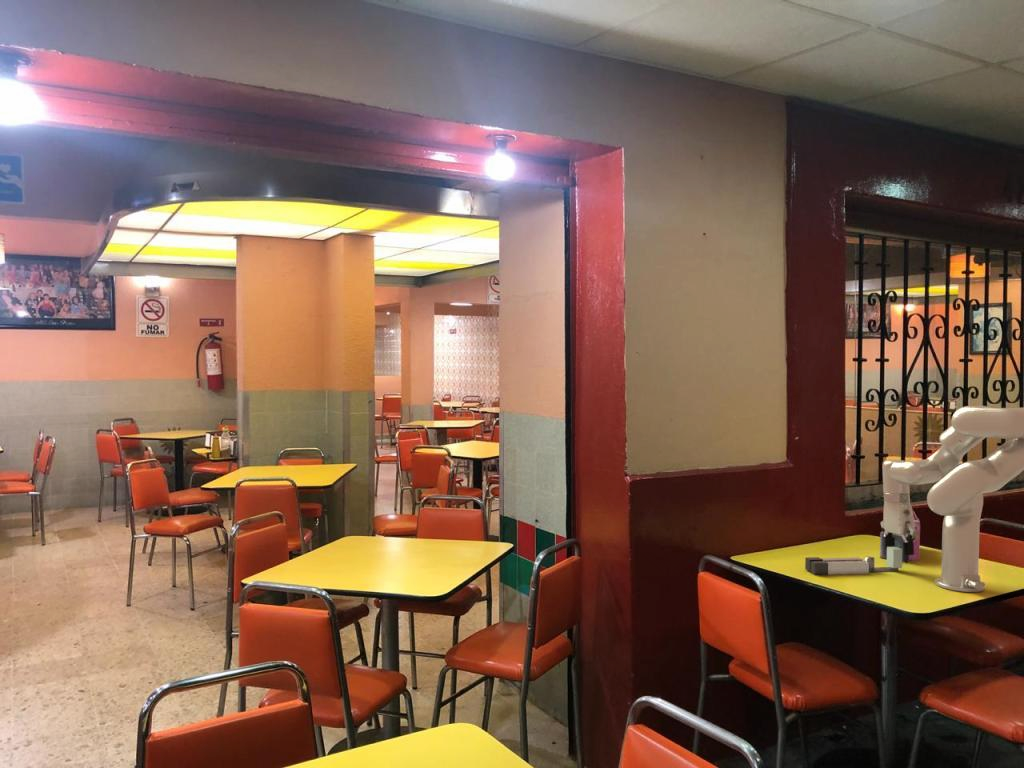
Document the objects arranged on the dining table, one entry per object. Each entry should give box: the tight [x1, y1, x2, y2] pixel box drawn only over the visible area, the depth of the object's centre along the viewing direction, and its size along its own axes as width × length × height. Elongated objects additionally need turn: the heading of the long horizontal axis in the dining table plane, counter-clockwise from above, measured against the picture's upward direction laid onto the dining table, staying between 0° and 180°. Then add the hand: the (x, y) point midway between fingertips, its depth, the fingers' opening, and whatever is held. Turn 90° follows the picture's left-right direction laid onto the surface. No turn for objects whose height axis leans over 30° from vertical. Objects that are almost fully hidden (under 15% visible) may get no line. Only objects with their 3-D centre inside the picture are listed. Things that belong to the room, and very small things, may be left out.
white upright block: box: [886, 547, 903, 569], centre depth 247 cm, size 4×3×6 cm
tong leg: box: [804, 556, 864, 572], centre depth 246 cm, size 3×18×4 cm, turn 97°
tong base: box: [809, 556, 899, 576], centre depth 244 cm, size 4×30×4 cm, turn 97°
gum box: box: [908, 509, 921, 562], centre depth 271 cm, size 24×8×14 cm, turn 157°
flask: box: [879, 531, 909, 564], centre depth 260 cm, size 9×3×11 cm, turn 41°
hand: (899, 552), depth 245 cm, fingers open, 9 cm apart
